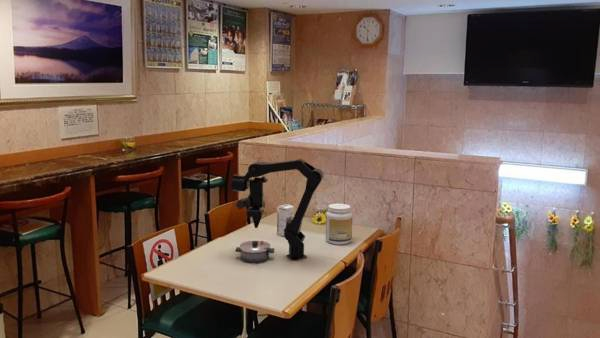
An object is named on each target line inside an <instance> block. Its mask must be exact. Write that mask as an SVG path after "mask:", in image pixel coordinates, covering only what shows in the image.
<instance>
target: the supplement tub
mask: <svg viewBox="0 0 600 338" xmlns="http://www.w3.org/2000/svg"><path fill="white" fill-rule="evenodd" d="M327 207H328V208H327V210H328V211H327V212H326V213H325V214H326V216H325V240H326V242H327V243H329V244H333V245H338V246H340V245H348V244H349V243H351V242H352V240H353V237H352V236H353V213H352V211H351V210H352V209H351V208H352V207H351V205H349V204H346V203H331V204H328V206H327Z"/></svg>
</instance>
